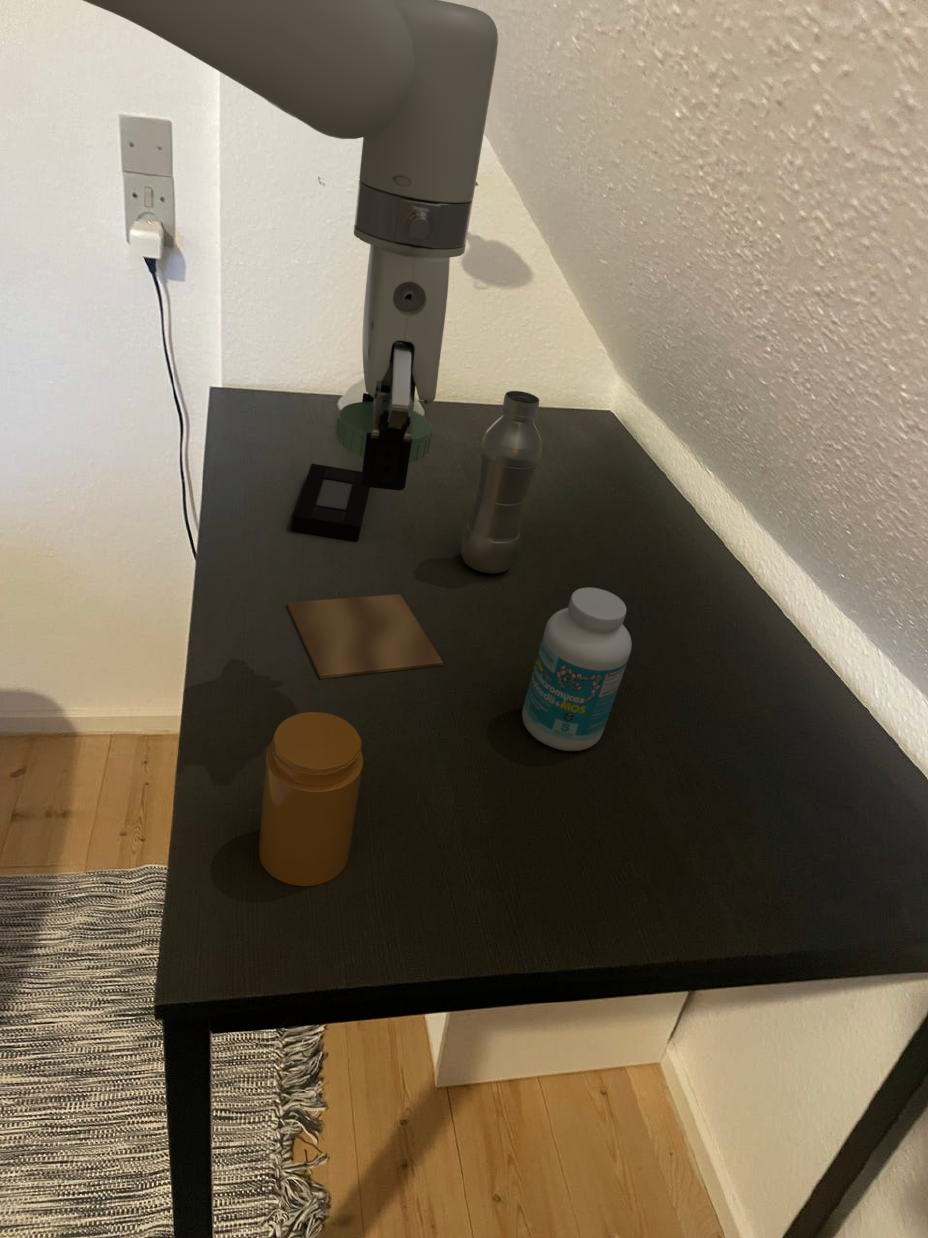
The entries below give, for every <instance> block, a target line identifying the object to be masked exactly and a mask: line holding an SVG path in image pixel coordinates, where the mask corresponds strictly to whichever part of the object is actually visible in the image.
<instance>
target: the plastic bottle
mask: <svg viewBox="0 0 928 1238" xmlns="http://www.w3.org/2000/svg"><path fill="white" fill-rule="evenodd" d="M539 406H540V399H539V397H538V396H536V395H535V394H532V393H530V392H526V391H521V390H509V391H506V393H505V395H504V398H503V402H502V405H501V408H500V413H501V414H502V415H501V416H500V417H499V418H498V419H496V421H494V423H492V425H491V426H490V427H488V428H487V430H486V432H485V434H484V435H483V438H482V439H481V440H482V441H481V447H480V449H481V451H480V465H479V466H480V467H479V477H478V484H477V489H476V495H475V500H474V504H473V506H472V509H471V513H470V517H469V519H468V522H467V524H466V527H465V529H464V532H463V534H462V537H461V540H460V555H461V557H462V560H463V561H464V563H465V564H466V565H467V566H468V567H469V568H471V570H475V571H477V572H479V573H485V574H500V573H503V572H505V571H507V570H508V569H509V568H511V567H512V566H513V565H514V563H515V561H516V559H517V556H518V554H519V552H520V543H521V540H520V539H521V537H520V536H521V533H520V531H521V524H522V518H523V511H524V506H525V502H526V497H527V495H528V492H529V488H530V485H531V482H532V479H533V477H534V474H535V472H536V469H537V468H538V464H539V462H540V459H541V457H542V453H543V442H542V438H541V436H540V433H539V430H538V429H537V427H536V424H535V420H537V419H538V417H539V412H538V411H539Z"/></svg>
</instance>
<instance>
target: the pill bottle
mask: <svg viewBox="0 0 928 1238" xmlns="http://www.w3.org/2000/svg"><path fill="white" fill-rule="evenodd" d="M626 615H627V606H626V603H625V602H624V600H622V599H621V598H620V597H619V596H617V595H616V594H614V593H612V592H610V591H608V590H605V589H601V588H599V587H598V588H597V587H581V588H578V589H576V590H575V591H573V592H572V594H571V596H570V599H569V603H568V605H567V607H565V608H562V609H560V610H558V611H556V612H555V613H554V614H552V615H551V617H550V618H549V619H548V621H547V622H546V625H545V628H544V631H543V634H542V637H541V641H540V645H539V649H538V651H537V652H538V653H537V656H536V660H535V663H534V667H533V670H532V675H531V677H530V681H529V685H528V689H527V691H526V696H525V699H524V703H523V707H522V711H521V716H522V722H523V724H524V726H525V729H526V730H527V731H528V733H529V734H530V735H531V736H532V737H533V738H534V739H536V740H537V741H539V742H540V743H542V744H544V745H546V746H548V747H550V748H553V749H556V750H560V751H565V752H579V751H584V750H587V749H590V748H591V747H593V746H594V745H596V744H597V743H598V742H599V741H600V739H601V738H602V736H603V734H604V731H605V728H606V726H607V722H608V720H609V716H610V713H611V711H612V708H613V705H614V702H615V699H616V696H617V693H618V689H619V687H620V685H621V681H622V679H623V676H624V673H625V670H626V667H627V664H628V662H629V658H630V655H631V652H632V645H633V643H632V638H631V634H630V632H629V631H628V629H627V628H626V626H625V625H624V621H625V618H626Z"/></svg>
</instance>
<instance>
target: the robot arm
mask: <svg viewBox="0 0 928 1238" xmlns="http://www.w3.org/2000/svg"><path fill="white" fill-rule="evenodd" d="M82 1H83V2H86V3H88V4H89V5H93V6H95V7H97V8H99V9H102V10H104V11H107V12H109V13H112V14H114V15H116V16H119V17H121V18H123V19H125V20H127V21H129V22H131V23H133V24H135V25H137V26H139V27H141V28H143V29H145V30H147V31H149V32H151V33H152V34H155V35H156V36H158V37H159V38H161V39H163V40H164V41H166V42H168V43H169V44H172V45H173V46H175V47H177V48H178V49H180V50H182V51H184V52H185V53H187V54H188V55H190V56H192V57H194V58H196V59H197V60H199V61H201V62H203V64H204V63H205V64H206V65H208V66H209V67H211V68H212V69H214V70H216V71H218V72H219V73H221V74H222V75H224V76H226V77H228V78H229V79H231V80H233V81H235V82H236V83H237V84H240V85H241V86H243V87H244V88H246V89H248V90H250V91H251V92H253V93H254V94H256V95H258V96H260V97H261V98H263V100H265V101H267V102H268V103H269V104H271V105H272V106H274V107H276V108H277V109H279V110H280V111H282V112H284V113H286V114H287V115H289V116H291V117H292V118H295V119H296V120H299V121H300V122H301V123H304V124H305V125H307V126H308V127H310V128H311V129H312V130H314V131H315V132H318V133H320V134H322V135H325V136H327V137H331V138H336V139H340V140H358V139H361V138H362V147H361V154H360V164H359V175H358V176H359V177H358V179H359V180H358V187H357V198H356V207H355V216H354V225H353V235H354V236H355V238H357V239H359V241H362V242H364V243H366V244H368V245H369V254H368V262H367V273H366V282H365V283H366V284H365V292H364V293H365V294H364V301H363V302H364V303H363V307H364V308H363V318H362V349H361V350H362V351H361V352H362V367H363V368H362V370H363V378H364V379H363V380H364V386H365V387H364V388H365V392H363V393H362V399H361V400H362V401H361V402H373V414H372V426H371V433H367V435H366V443H365V452H364V457H363V461H362V467H361V469H362V470H361V472H362V476H361V483H362V485H363V486H364V487H370V489H380V490H389V491H390V490H391V491H404V489H405V488H406V483H407V477H408V470H409V463H410V462H409V457H410V451H411V444H412V438H411V431H412V420H413V411H414V408H415V396H416V393H417V397H418V400H419V401H423V403H424V405H430V404H431V403H433V402H434V401H435V399H436V396H437V387H438V380H439V379H438V378H439V377H438V376H439V370H440V362H441V353H442V345H443V337H444V331H445V322H446V314H447V305H448V293H449V280H450V261H451V258H455V257H460V256H462V255H464V254H465V251H466V246H467V245H466V244H467V239H468V233H469V226H470V220H471V214H472V209H473V200H474V197H475V196H474V195H475V189H476V184H477V178H478V177H477V176H478V171H479V165H480V160H481V153H482V148H483V140H484V134H485V129H486V123H487V116H488V109H489V103H490V98H491V91H492V87H493V80H494V79H493V78H494V74H495V68H496V61H497V54H498V45H499V34H498V28H497V26H496V23H495V21H494V20H493V18H492V17H491V16H490V15H489V14H488V13H486V12H485V11H483V10H481V9H478V8H475V7H471V6H467V5H463V4H459V3H454V2H449V1H445V0H82ZM382 403H388V404H389V405H388V410H384V412H383V414H381V410H382Z"/></svg>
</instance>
